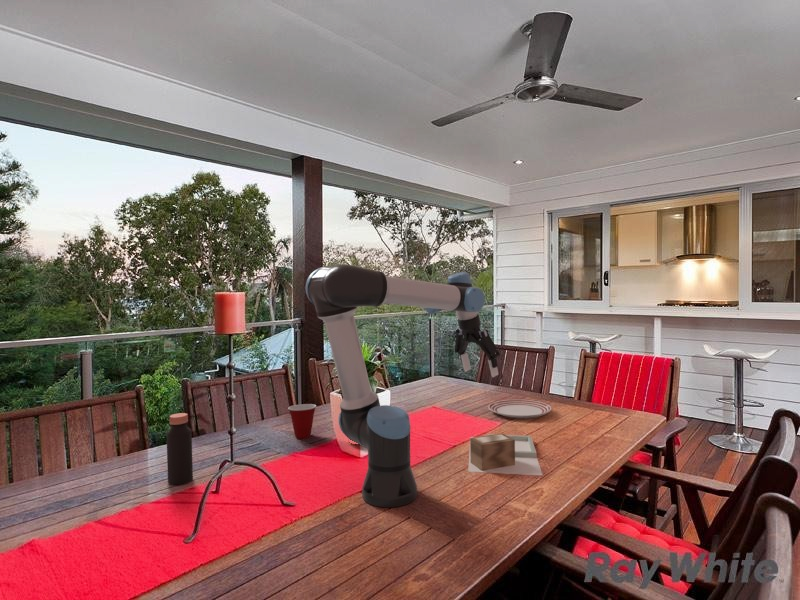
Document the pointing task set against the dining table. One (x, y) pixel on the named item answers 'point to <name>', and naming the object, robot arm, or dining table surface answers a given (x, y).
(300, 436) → the plastic cup
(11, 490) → the dining table surface
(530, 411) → the dinner plate
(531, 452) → the grey board with frame
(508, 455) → the wooden block
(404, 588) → the dining table surface
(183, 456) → the bottle
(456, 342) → the robot arm
